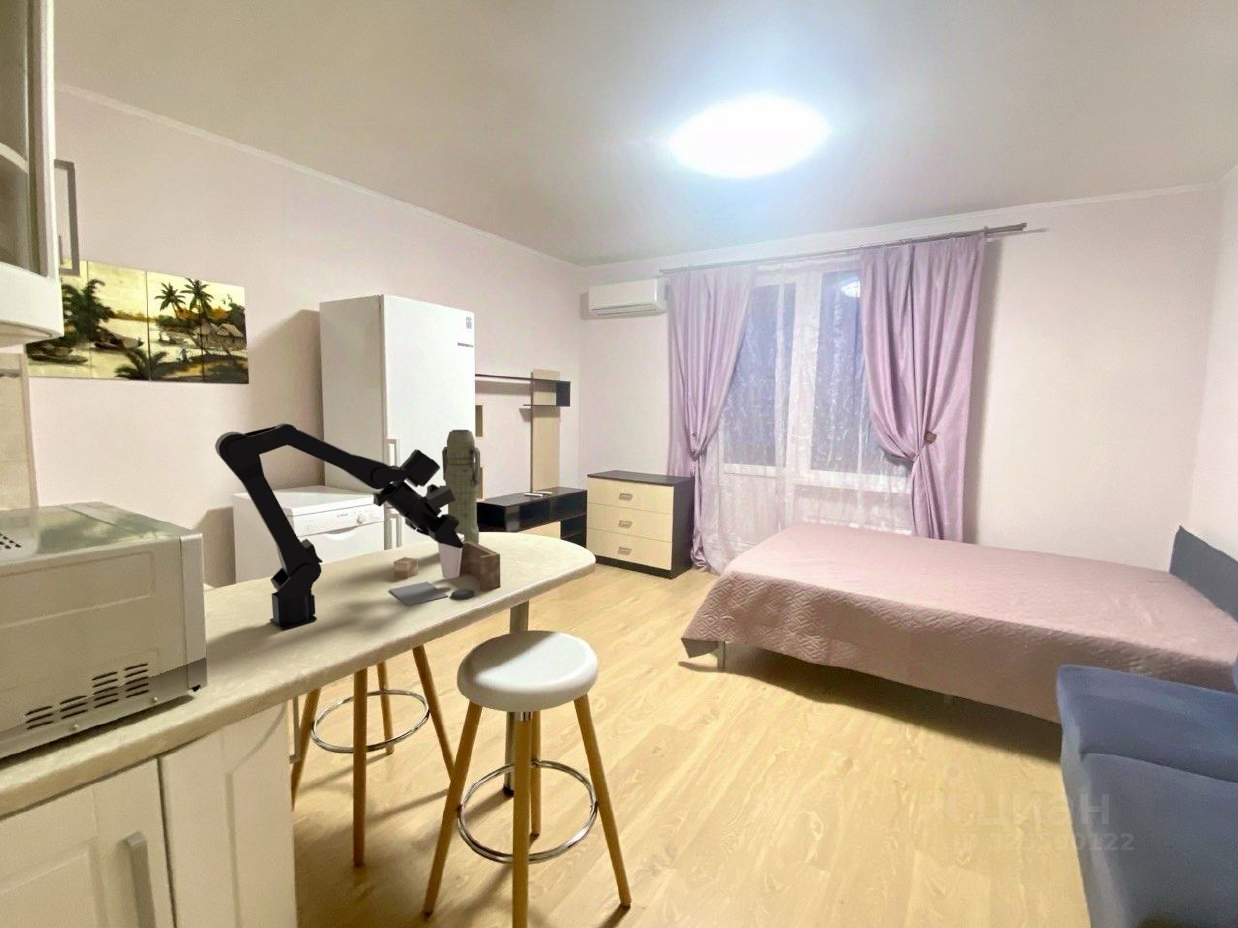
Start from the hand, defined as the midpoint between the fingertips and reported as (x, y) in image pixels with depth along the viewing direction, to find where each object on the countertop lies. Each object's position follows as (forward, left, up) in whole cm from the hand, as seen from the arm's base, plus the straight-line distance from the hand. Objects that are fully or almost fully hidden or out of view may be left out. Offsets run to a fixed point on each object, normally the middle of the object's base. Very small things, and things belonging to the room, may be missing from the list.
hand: (455, 543), depth 134 cm
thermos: (+18, +23, -10) cm, 31 cm away
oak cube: (-4, +16, -10) cm, 19 cm away
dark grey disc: (-3, -7, -10) cm, 13 cm away
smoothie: (-1, 0, -8) cm, 8 cm away
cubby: (+5, -1, -10) cm, 11 cm away
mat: (-9, +2, -10) cm, 14 cm away
